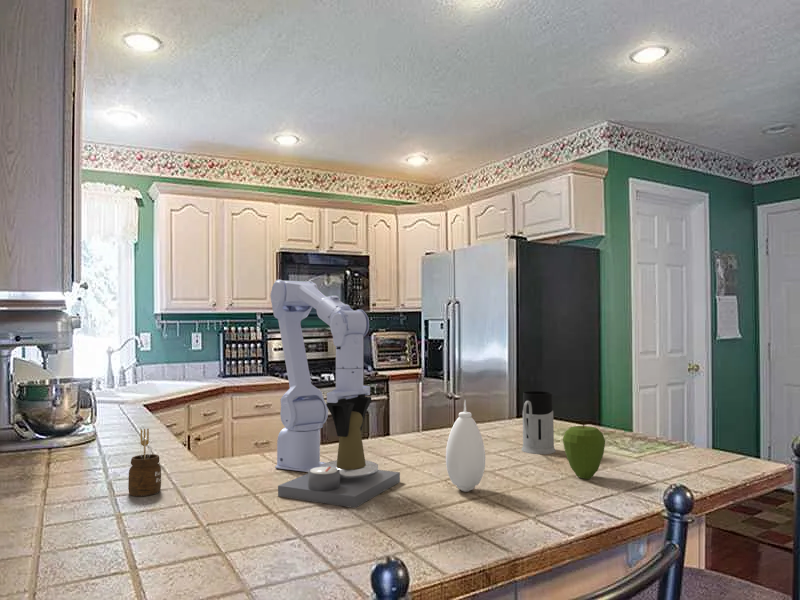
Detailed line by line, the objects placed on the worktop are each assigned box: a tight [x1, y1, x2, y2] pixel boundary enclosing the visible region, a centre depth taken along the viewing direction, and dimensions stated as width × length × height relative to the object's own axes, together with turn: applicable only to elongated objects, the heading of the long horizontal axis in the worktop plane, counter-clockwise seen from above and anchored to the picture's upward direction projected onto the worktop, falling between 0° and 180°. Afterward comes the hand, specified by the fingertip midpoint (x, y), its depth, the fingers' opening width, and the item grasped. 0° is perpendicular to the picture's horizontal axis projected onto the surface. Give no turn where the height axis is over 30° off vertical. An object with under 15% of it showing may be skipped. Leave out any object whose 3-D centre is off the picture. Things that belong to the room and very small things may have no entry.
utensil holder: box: [127, 428, 162, 497], centre depth 115 cm, size 6×6×12 cm
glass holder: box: [520, 390, 556, 455], centre depth 150 cm, size 9×14×15 cm, turn 148°
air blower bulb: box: [445, 399, 486, 493], centre depth 116 cm, size 8×8×18 cm
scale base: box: [277, 467, 401, 509], centre depth 117 cm, size 17×19×5 cm
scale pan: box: [320, 459, 379, 479], centre depth 120 cm, size 12×12×1 cm
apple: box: [562, 424, 606, 480], centre depth 125 cm, size 9×8×12 cm
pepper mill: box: [336, 411, 366, 469], centre depth 120 cm, size 6×6×11 cm
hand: (349, 433), depth 120 cm, fingers closed on pepper mill, 5 cm apart
